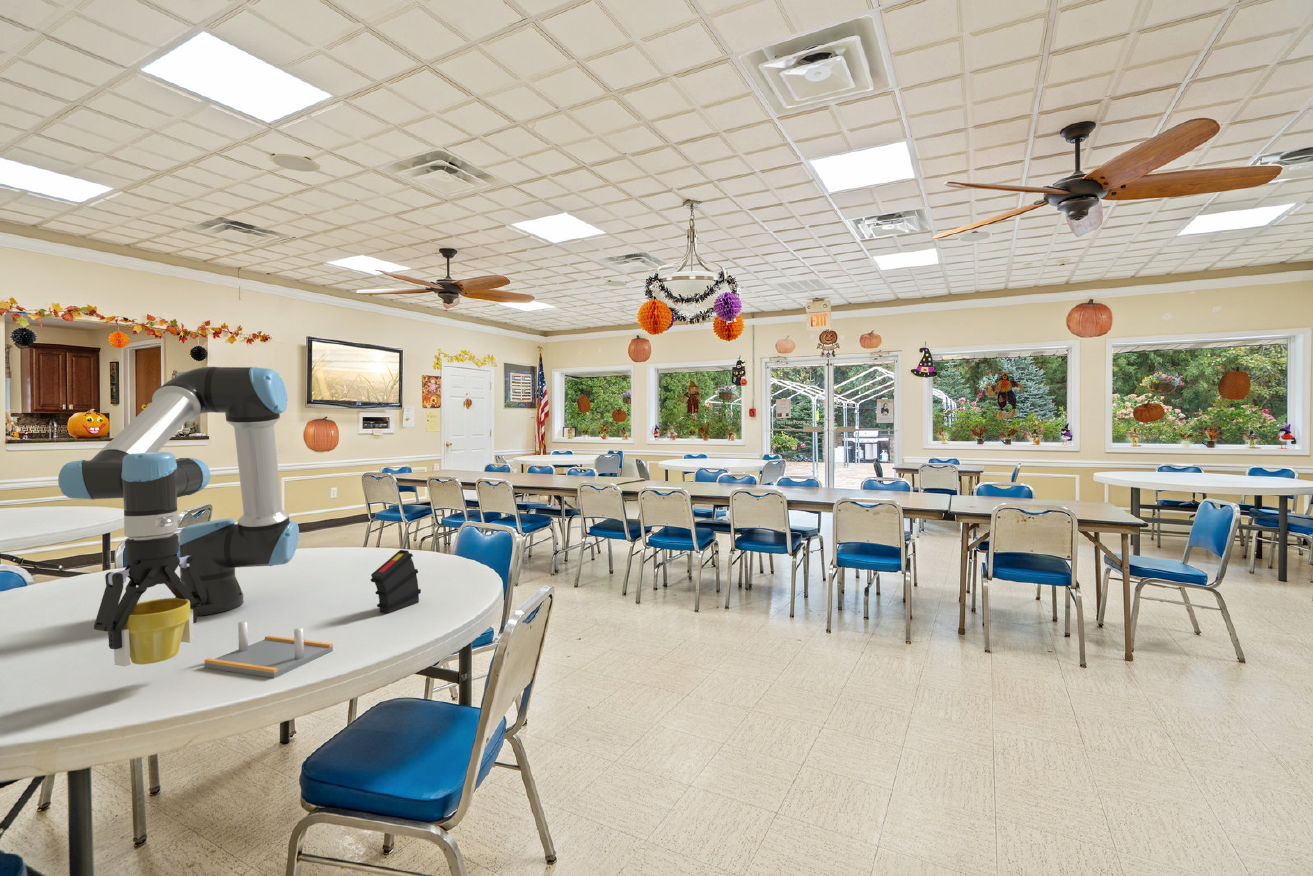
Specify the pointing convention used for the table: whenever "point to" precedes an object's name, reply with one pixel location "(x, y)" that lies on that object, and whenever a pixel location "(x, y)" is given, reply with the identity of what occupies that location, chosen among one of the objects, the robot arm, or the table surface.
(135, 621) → the plant pot
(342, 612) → the table surface
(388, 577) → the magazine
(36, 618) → the table surface
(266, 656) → the tray
